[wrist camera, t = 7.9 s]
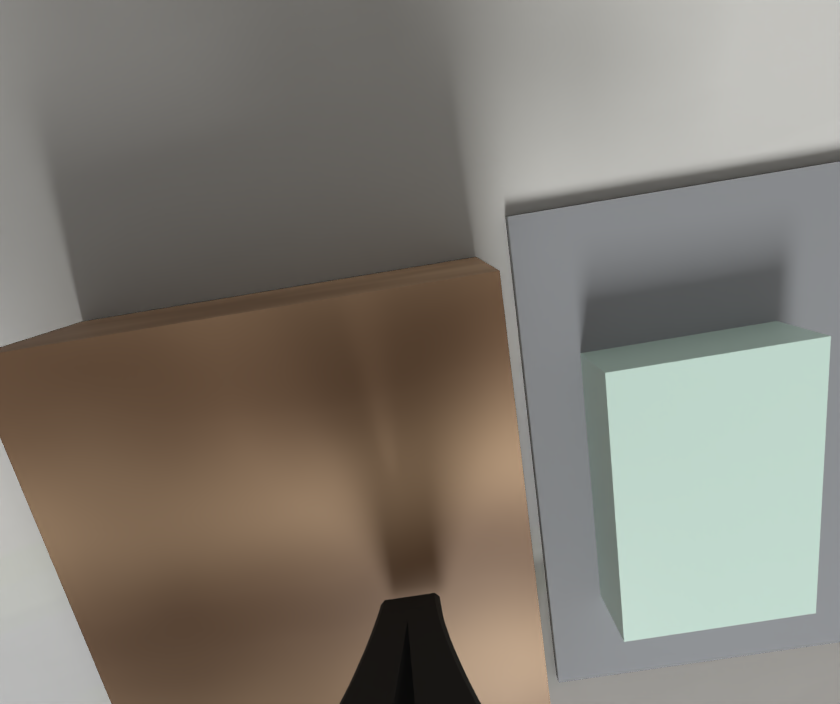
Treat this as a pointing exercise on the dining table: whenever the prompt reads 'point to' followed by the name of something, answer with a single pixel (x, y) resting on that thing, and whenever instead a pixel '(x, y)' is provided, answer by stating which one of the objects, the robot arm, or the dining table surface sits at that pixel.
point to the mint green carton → (708, 476)
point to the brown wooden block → (282, 484)
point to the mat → (657, 320)
